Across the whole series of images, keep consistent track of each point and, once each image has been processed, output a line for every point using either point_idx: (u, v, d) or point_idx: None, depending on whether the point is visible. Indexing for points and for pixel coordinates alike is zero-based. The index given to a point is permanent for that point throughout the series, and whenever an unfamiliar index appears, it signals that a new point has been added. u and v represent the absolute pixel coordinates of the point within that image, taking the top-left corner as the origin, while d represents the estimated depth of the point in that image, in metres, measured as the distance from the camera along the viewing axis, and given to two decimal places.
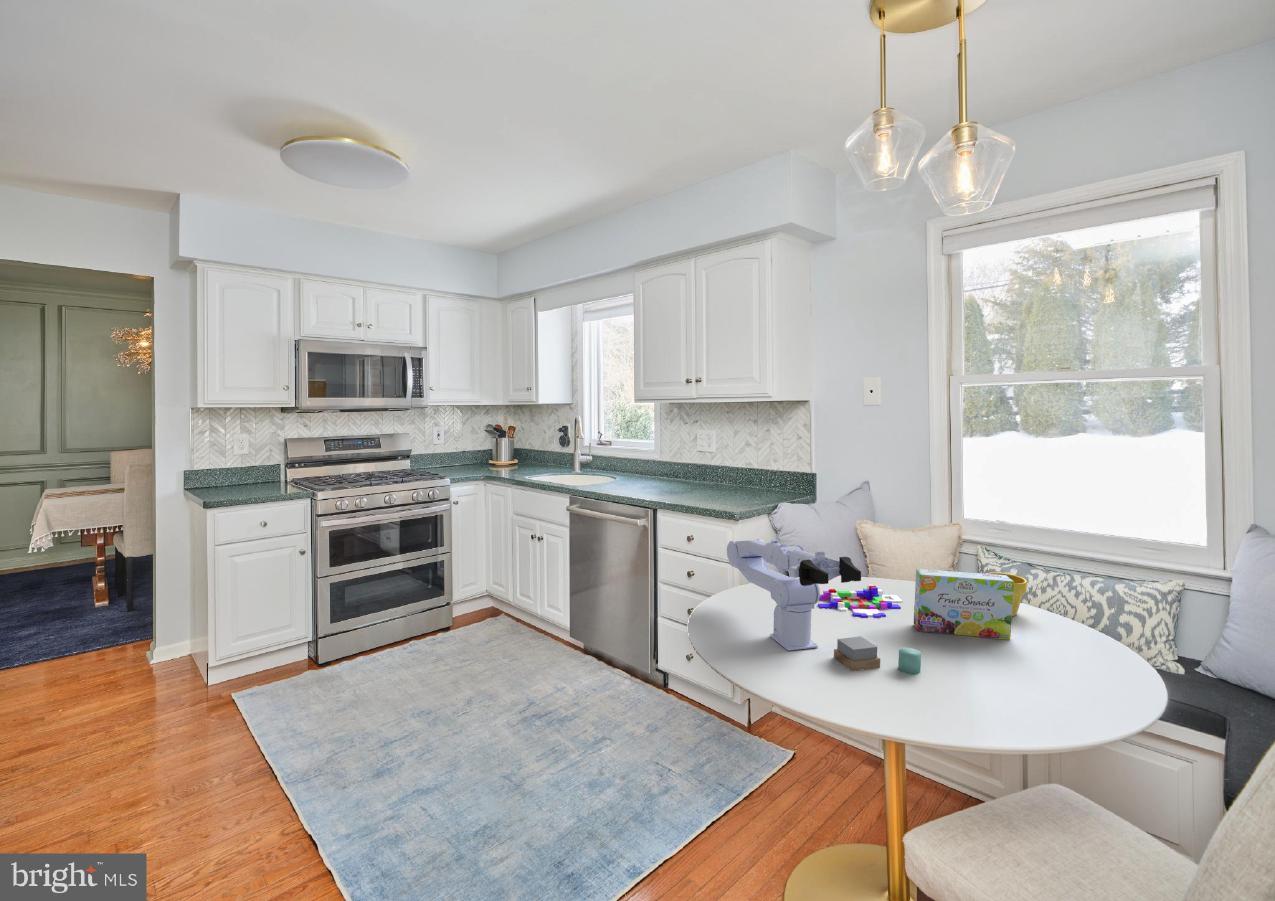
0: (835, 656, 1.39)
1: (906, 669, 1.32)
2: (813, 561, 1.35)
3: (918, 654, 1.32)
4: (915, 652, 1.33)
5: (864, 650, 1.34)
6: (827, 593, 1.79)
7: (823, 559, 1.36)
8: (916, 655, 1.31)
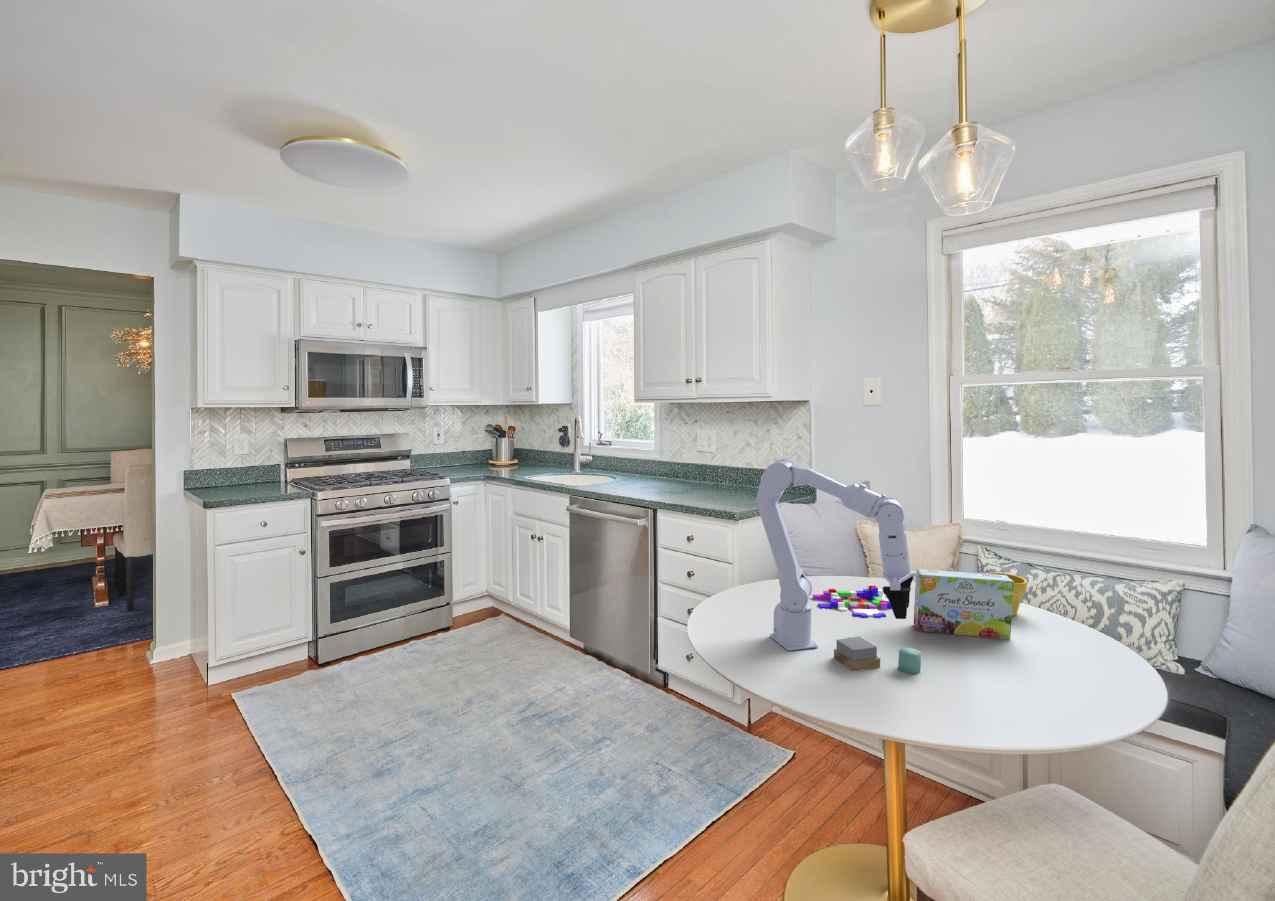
0: (835, 656, 1.39)
1: (906, 669, 1.32)
2: None
3: (918, 654, 1.32)
4: (915, 652, 1.33)
5: (864, 651, 1.34)
6: (827, 593, 1.79)
7: None
8: (916, 655, 1.31)
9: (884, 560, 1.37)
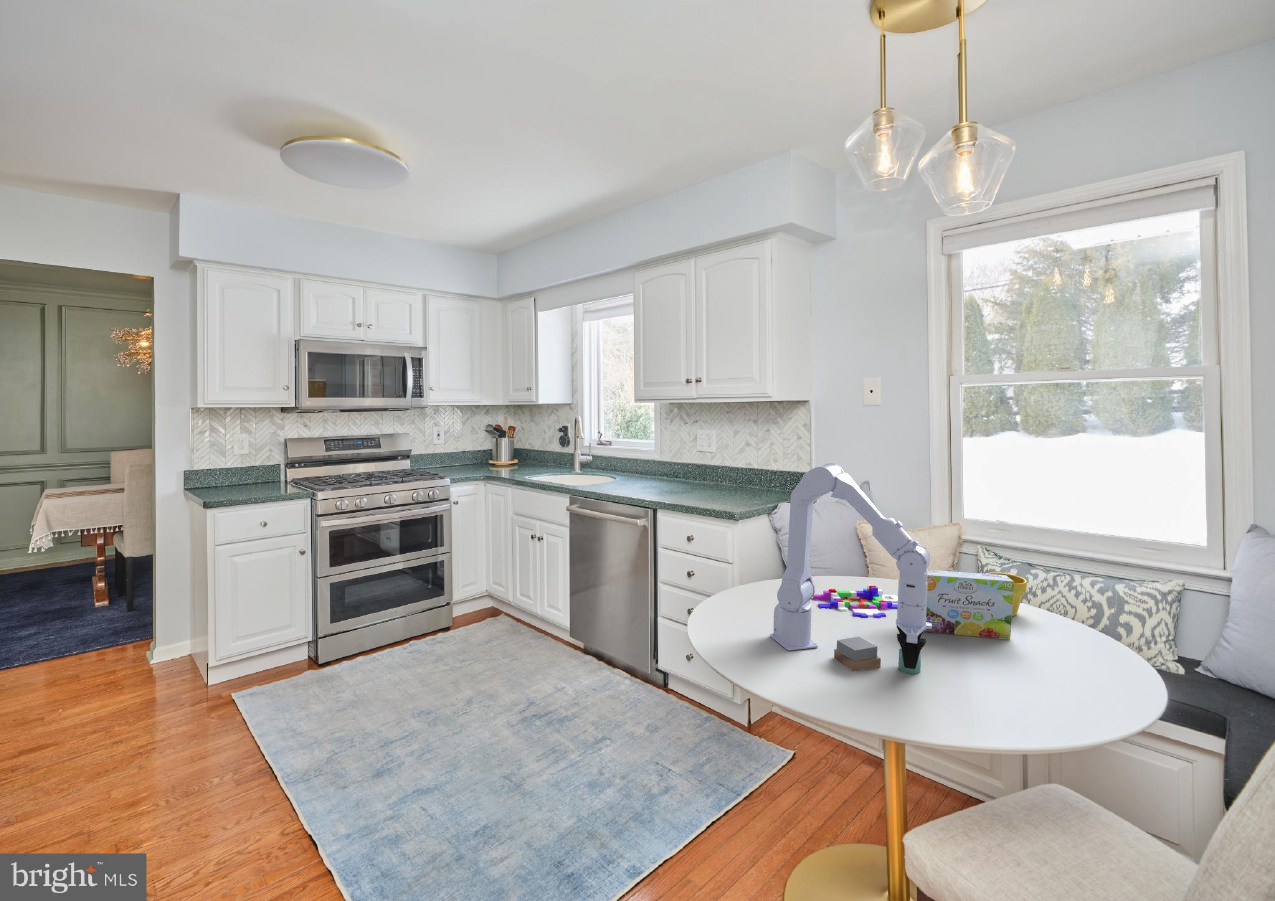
0: (835, 656, 1.39)
1: (906, 669, 1.32)
2: None
3: None
4: None
5: (865, 651, 1.34)
6: (827, 593, 1.79)
7: None
8: None
9: (901, 608, 1.31)
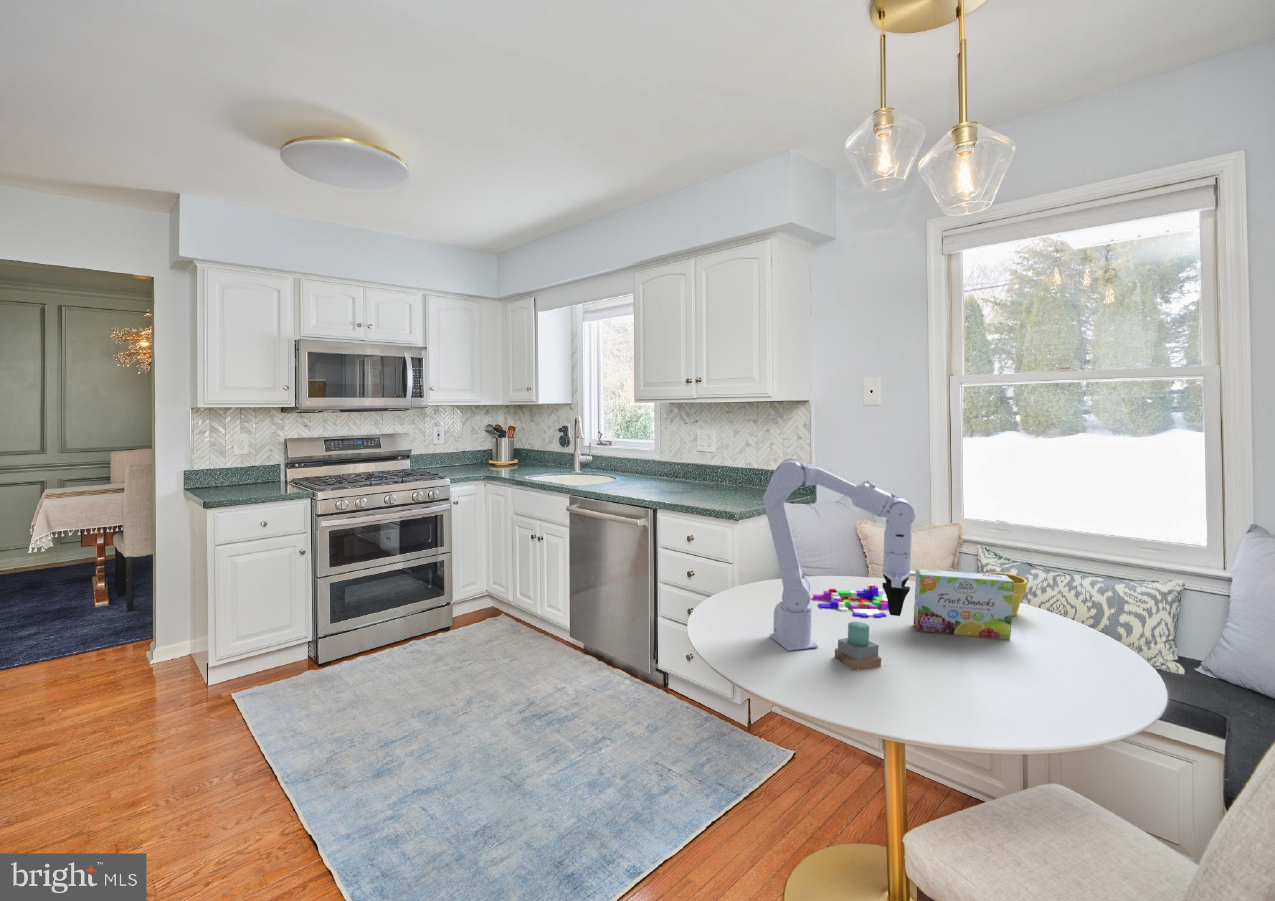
0: (836, 655, 1.39)
1: (854, 642, 1.35)
2: None
3: (866, 627, 1.35)
4: (863, 625, 1.36)
5: (867, 650, 1.34)
6: (827, 593, 1.79)
7: None
8: (864, 628, 1.35)
9: (887, 557, 1.39)
